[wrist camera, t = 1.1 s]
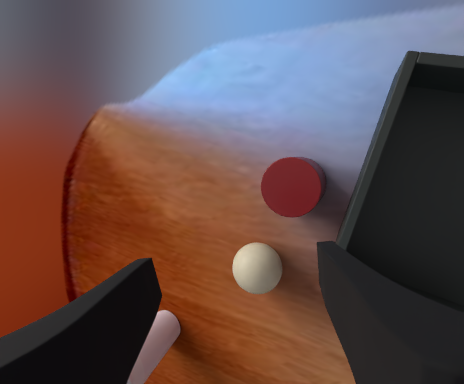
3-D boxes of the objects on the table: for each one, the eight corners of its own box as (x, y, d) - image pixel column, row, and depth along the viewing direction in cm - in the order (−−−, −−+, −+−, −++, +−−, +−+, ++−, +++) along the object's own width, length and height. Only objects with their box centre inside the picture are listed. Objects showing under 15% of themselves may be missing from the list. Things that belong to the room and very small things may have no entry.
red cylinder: (333, 165, 22) (330, 166, 19) (316, 216, 23) (310, 226, 20) (281, 151, 24) (269, 150, 20) (267, 199, 25) (254, 206, 22)
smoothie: (172, 291, 31) (47, 384, 18) (199, 342, 30) (88, 475, 18) (139, 309, 34) (10, 400, 21) (162, 355, 33) (44, 479, 20)
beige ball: (293, 247, 24) (281, 265, 20) (280, 288, 25) (266, 313, 21) (249, 230, 26) (230, 243, 22) (239, 269, 27) (219, 289, 23)
